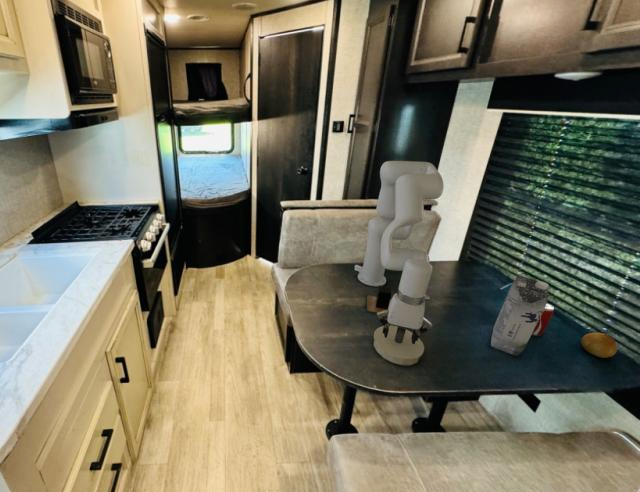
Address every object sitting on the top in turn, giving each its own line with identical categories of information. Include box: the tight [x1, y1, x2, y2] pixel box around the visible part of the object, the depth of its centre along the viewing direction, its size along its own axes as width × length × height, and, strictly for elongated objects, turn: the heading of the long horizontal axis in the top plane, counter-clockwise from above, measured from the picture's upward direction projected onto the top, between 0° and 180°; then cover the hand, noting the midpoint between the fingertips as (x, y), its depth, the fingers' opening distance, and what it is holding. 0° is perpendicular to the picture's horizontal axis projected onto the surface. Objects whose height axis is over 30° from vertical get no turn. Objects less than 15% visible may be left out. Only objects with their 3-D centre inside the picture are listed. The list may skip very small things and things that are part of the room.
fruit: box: [581, 332, 618, 359], centre depth 105 cm, size 8×8×8 cm
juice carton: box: [490, 274, 550, 357], centre depth 104 cm, size 9×10×27 cm
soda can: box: [531, 302, 555, 337], centre depth 113 cm, size 5×5×12 cm
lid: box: [373, 325, 425, 360], centre depth 106 cm, size 16×16×7 cm
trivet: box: [366, 294, 392, 314], centre depth 130 cm, size 11×11×1 cm
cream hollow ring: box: [373, 339, 422, 366], centre depth 108 cm, size 15×15×4 cm
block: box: [375, 285, 392, 310], centre depth 128 cm, size 5×5×8 cm
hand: (398, 337), depth 106 cm, fingers open, 8 cm apart
